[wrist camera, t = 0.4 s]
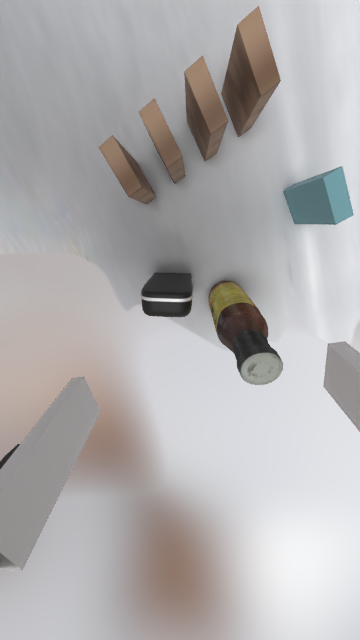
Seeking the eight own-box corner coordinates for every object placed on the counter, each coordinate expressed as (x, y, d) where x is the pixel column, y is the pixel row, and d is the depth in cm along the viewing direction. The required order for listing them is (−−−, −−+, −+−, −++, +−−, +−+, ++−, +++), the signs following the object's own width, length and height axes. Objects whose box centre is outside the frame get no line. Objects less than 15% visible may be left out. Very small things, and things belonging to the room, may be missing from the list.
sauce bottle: (201, 294, 37) (209, 362, 19) (229, 272, 35) (268, 324, 17) (222, 319, 39) (249, 402, 21) (251, 299, 37) (306, 372, 19)
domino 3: (186, 121, 27) (184, 71, 18) (198, 111, 27) (202, 55, 18) (204, 161, 29) (210, 134, 20) (216, 153, 28) (228, 121, 19)
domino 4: (221, 93, 26) (237, 24, 17) (234, 82, 25) (258, 5, 16) (238, 137, 28) (260, 95, 18) (250, 128, 27) (280, 80, 18)
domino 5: (283, 191, 30) (323, 177, 21) (295, 183, 29) (342, 166, 20) (294, 223, 32) (335, 224, 23) (306, 216, 31) (353, 214, 22)
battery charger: (153, 293, 37) (139, 320, 27) (152, 272, 36) (136, 292, 26) (191, 294, 37) (192, 322, 27) (192, 273, 36) (193, 294, 25)
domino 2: (155, 146, 28) (138, 112, 19) (166, 138, 28) (154, 98, 19) (174, 183, 30) (167, 167, 21) (185, 175, 30) (182, 156, 21)
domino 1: (126, 170, 30) (98, 147, 21) (136, 161, 29) (112, 135, 20) (146, 204, 31) (128, 196, 22) (156, 196, 31) (141, 186, 22)
